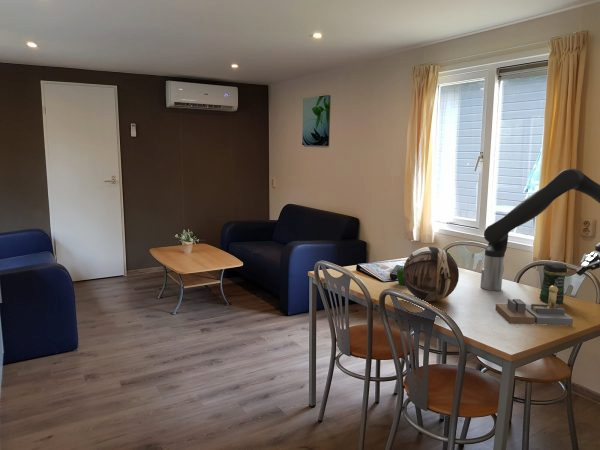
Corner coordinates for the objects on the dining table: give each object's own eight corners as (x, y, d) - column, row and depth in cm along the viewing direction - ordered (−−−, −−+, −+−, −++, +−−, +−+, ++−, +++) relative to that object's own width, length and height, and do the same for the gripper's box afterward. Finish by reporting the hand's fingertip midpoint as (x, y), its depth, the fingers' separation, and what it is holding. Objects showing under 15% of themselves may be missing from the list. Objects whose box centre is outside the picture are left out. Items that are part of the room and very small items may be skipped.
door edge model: (553, 312, 205) (554, 296, 203) (572, 325, 189) (574, 309, 188) (495, 310, 206) (496, 294, 205) (509, 323, 190) (510, 307, 189)
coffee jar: (547, 304, 214) (551, 265, 211) (536, 299, 222) (540, 261, 219) (566, 303, 216) (571, 265, 213) (555, 298, 224) (559, 260, 220)
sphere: (460, 311, 204) (464, 255, 199) (401, 306, 209) (404, 251, 204) (453, 293, 228) (457, 243, 224) (401, 289, 233) (403, 240, 228)
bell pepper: (393, 282, 244) (394, 264, 243) (406, 281, 248) (407, 262, 246) (403, 287, 237) (404, 268, 235) (416, 285, 240) (417, 266, 239)
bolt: (553, 309, 198) (556, 284, 196) (557, 312, 195) (560, 287, 193) (532, 309, 198) (534, 284, 196) (535, 311, 195) (538, 286, 193)
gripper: (595, 236, 197) (563, 263, 200) (615, 242, 184) (580, 271, 187) (607, 248, 198) (574, 275, 201) (627, 255, 185) (592, 284, 187)
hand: (577, 273), depth 194 cm, fingers closed
